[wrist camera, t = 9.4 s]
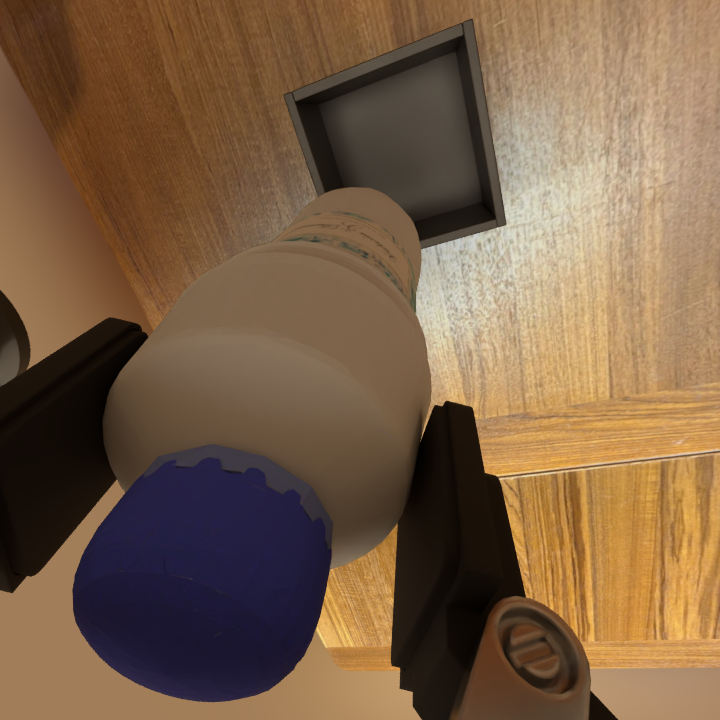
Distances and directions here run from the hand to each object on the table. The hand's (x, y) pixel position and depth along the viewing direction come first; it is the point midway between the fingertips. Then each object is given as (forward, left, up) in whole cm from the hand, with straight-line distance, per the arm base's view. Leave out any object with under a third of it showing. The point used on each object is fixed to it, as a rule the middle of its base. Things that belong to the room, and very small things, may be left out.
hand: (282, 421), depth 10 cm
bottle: (0, 0, -15) cm, 15 cm away
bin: (+1, +4, -31) cm, 31 cm away
